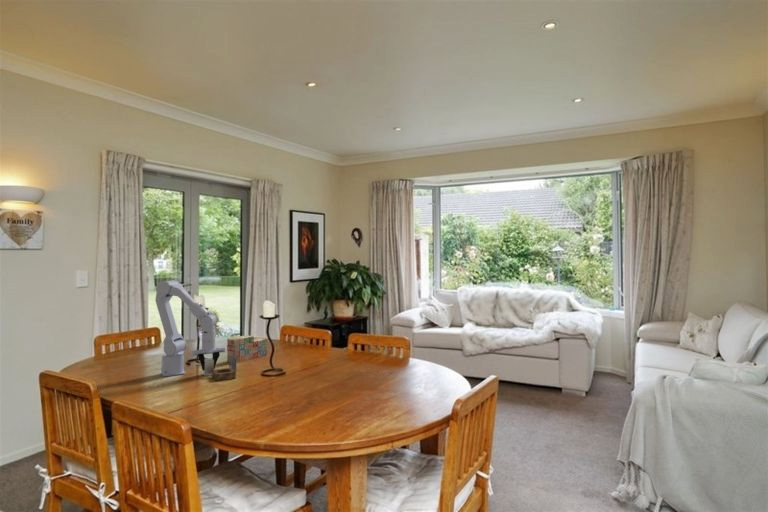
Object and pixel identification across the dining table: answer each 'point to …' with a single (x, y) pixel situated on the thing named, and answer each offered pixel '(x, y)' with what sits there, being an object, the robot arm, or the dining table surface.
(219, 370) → the walnut bore block
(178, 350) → the robot arm
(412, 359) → the dining table surface
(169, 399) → the dining table surface
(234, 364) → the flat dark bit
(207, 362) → the block
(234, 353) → the stack of blocks
